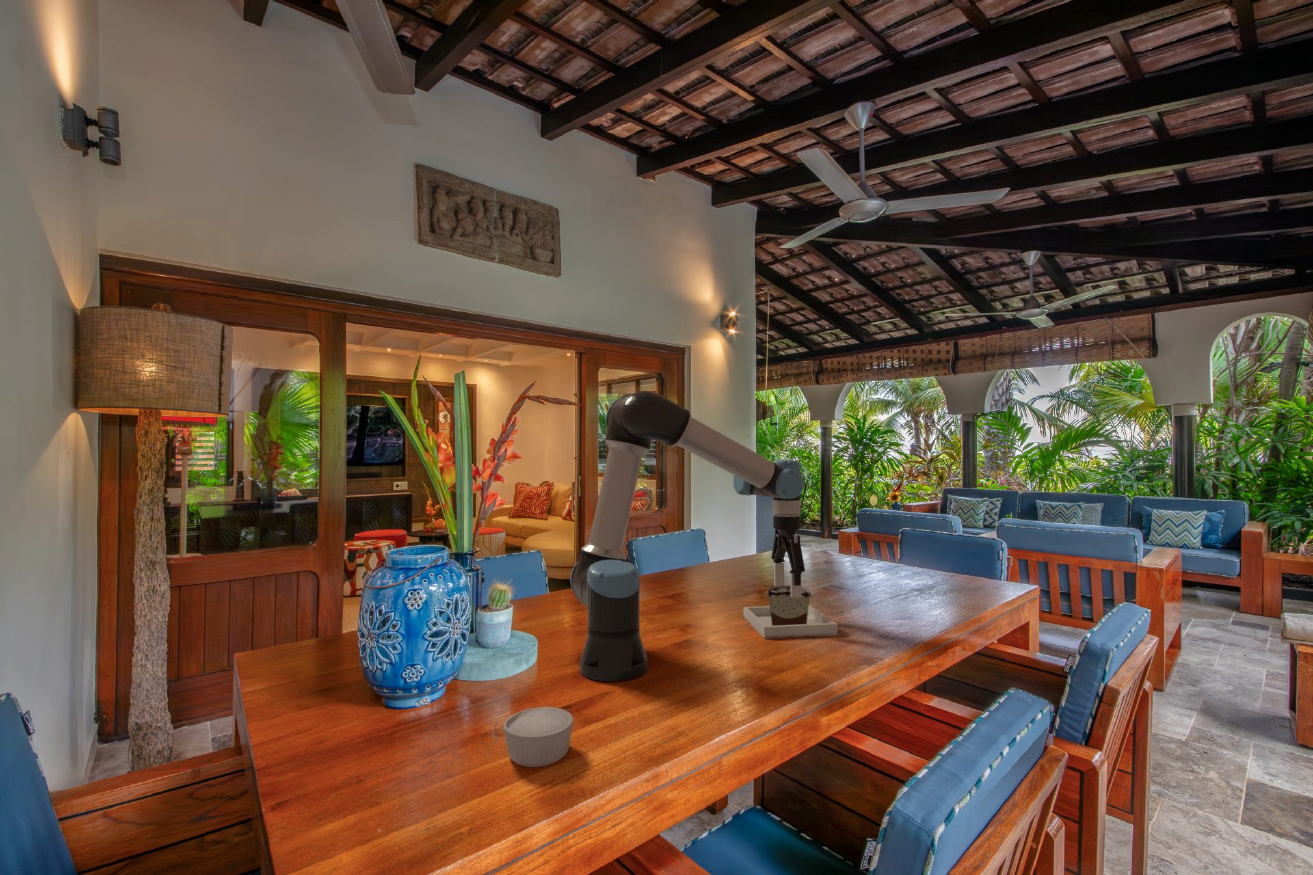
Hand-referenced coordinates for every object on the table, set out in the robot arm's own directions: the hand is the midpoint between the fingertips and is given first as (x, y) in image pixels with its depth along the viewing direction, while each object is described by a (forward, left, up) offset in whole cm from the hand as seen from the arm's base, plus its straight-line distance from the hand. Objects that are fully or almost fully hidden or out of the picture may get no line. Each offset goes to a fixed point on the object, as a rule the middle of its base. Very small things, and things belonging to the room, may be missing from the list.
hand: (787, 591), depth 164 cm
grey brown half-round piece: (0, 0, -9) cm, 9 cm away
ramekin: (-61, +64, -10) cm, 89 cm away
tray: (0, 0, -10) cm, 10 cm away
